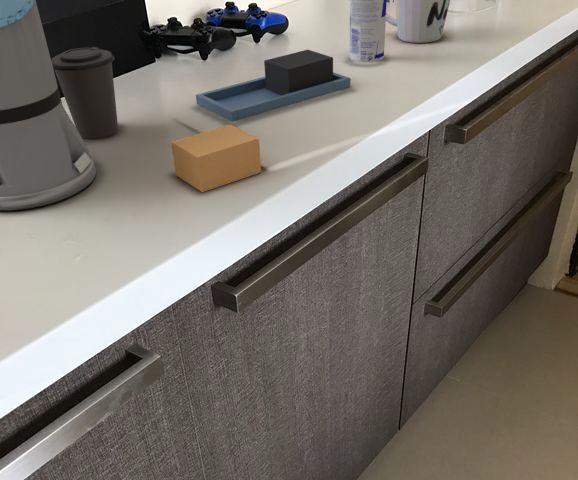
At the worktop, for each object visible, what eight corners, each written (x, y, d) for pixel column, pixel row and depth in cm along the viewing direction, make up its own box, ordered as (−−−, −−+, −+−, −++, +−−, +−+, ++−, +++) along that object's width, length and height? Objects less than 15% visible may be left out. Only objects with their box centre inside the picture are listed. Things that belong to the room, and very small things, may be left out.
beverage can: (390, 62, 107) (395, -47, 98) (358, 67, 106) (361, -43, 96) (374, 54, 111) (378, -52, 102) (343, 59, 110) (344, -48, 100)
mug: (437, 48, 112) (443, -20, 106) (357, 40, 119) (359, -25, 112) (458, 32, 119) (465, -32, 113) (381, 26, 125) (384, -36, 119)
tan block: (202, 192, 74) (197, 157, 71) (176, 175, 77) (170, 141, 75) (261, 172, 77) (258, 138, 74) (233, 157, 81) (230, 124, 78)
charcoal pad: (289, 99, 94) (288, 69, 92) (265, 89, 98) (263, 60, 95) (333, 86, 98) (333, 57, 95) (308, 77, 101) (308, 49, 99)
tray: (232, 125, 89) (231, 111, 88) (196, 107, 95) (195, 94, 94) (350, 90, 98) (350, 77, 97) (310, 76, 104) (310, 64, 103)
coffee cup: (138, 122, 92) (123, 43, 85) (110, 144, 86) (92, 61, 79) (87, 119, 93) (68, 41, 87) (56, 140, 88) (33, 59, 81)
